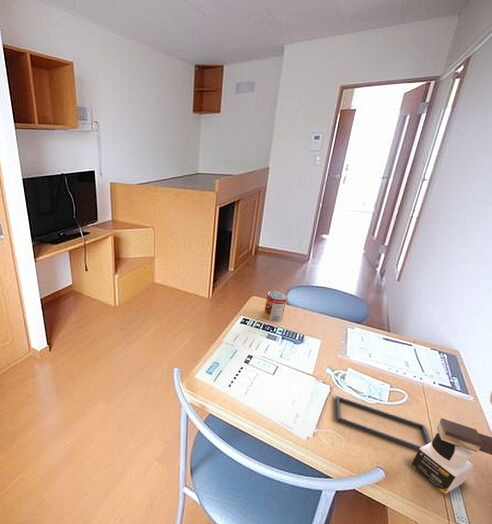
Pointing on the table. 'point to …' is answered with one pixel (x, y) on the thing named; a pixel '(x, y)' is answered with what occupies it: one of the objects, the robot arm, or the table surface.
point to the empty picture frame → (384, 416)
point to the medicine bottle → (443, 463)
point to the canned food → (275, 306)
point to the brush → (464, 436)
